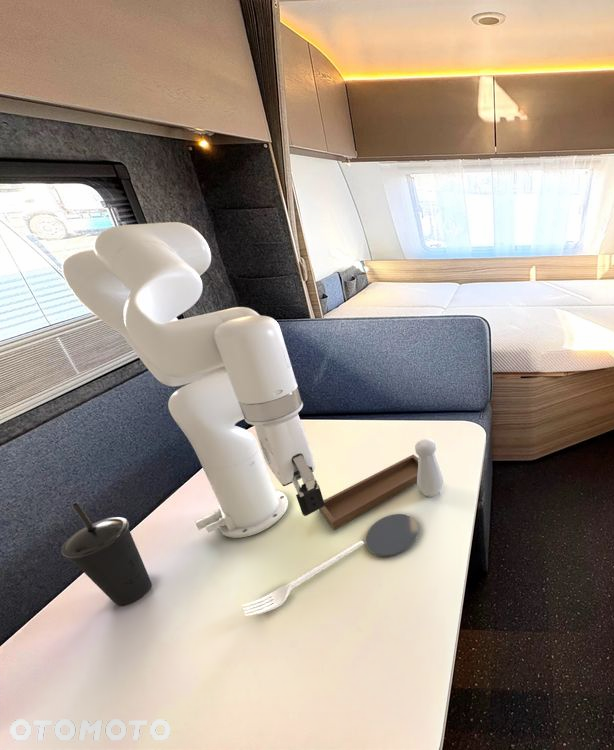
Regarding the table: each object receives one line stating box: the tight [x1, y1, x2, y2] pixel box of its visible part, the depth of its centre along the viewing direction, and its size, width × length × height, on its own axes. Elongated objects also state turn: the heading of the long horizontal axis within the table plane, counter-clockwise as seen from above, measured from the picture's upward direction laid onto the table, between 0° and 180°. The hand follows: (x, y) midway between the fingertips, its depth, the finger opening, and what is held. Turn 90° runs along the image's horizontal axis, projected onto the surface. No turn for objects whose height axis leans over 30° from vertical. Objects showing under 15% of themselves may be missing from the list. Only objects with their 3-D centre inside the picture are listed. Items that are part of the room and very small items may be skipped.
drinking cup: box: [60, 502, 153, 607], centre depth 62 cm, size 8×8×20 cm
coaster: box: [365, 513, 420, 558], centre depth 75 cm, size 10×10×1 cm
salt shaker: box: [414, 438, 444, 498], centre depth 84 cm, size 6×6×13 cm
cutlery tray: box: [318, 453, 419, 531], centre depth 86 cm, size 24×8×2 cm, turn 134°
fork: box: [241, 540, 365, 617], centre depth 67 cm, size 3×20×2 cm, turn 134°
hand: (302, 495), depth 62 cm, fingers open, 9 cm apart
